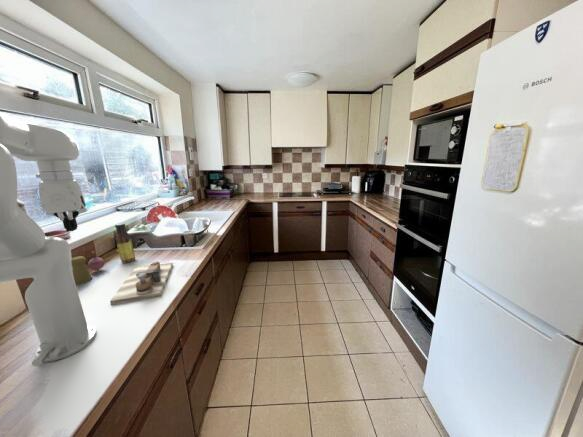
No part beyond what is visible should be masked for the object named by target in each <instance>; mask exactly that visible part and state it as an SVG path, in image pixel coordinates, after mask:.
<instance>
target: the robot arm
mask: <svg viewBox="0 0 583 437" xmlns="http://www.w3.org/2000/svg"><path fill="white" fill-rule="evenodd" d="M79 155H80V148H79V144H78V143H77V141H76V139H75V138H74V137H73V136H72V135H71V134H69V133H67V132H65V131H63V130H61V129H57V128H55V127H50V126H44V125H39V124H36V123H35V124H34V123H30V122H25V121H20V120H17V119H15V118H13V117H11V116H9V115H7V114H5V113H3V112H1V111H0V283H6V282H10V281H15V280H22V279H28V278H29V279H30V278H33V281H32V282H31V283H30V285H29V286H28V287H27V289H26V291H25V293H24V299H25V303H26V305H27V308H28V311H29V314H30V317H31V320H32V323H33V326H34V328H35V331H36V334H37V338H38V340H39V342H40V344H39V345H38V347H37V349H36V350H35V351H34V352H35V353H34V355H35V358H34V359H33V360H32V361H31V365H32V366H33V367H40V366H41V365H42V364H43V363H46V362H47V363H49V362H50V363H51V362H54V361H59V360H62V359H64V358H68V357H70V356H72V355H75V354H76V353H78V352H79V351H81V350H83V349H84V348H86V347H87V346H89V344H91V343H92V341H93V340H94V339H95V337H96V336H97V329H96V327H95V326H93V325H89V324H88V323H87V319H86V316H85V313H84V309H83V305H82V303H81V298H80V294H79V291H78V288H77V284H75V280H74V276H73V266H72V261H71V259H72V249H71V246H70V243H69V241H67V240H66V239H64V238H62V237H57V236H46V234H45V232H44V230H43V228H42V227H40V225H38V223H37V222H36V221H35V220H34V219H33V218H31V216H30V215H28V214H27V213H26V212H25V211H24V210H23V209H22V208H21V207H20V206H19V204H18V174H17V167H16V166H17V165H16V163H15V159H14V158H17V159H19V160H21V161H24V162H36V164H37V168H38V171H39V172H38V173H37V174H35V178H36V179H40V180H41V181H39V182H38V194H39V200H40V205H41V208H42V211H43V212H45V214H46V215H47V216H53V217H57V219H59V220H60V221H62V224H63V228H64V229H65V231H66V232H67V233H68V232H74V231H76V230H77V229H78V222H77V218H78V217H79V215H80V214H83V213H87V212H88V209H87V208H86V200H85V197H84V194H83V191H82V189H81V186H80V185H79V183H78V181H77V179H74V175H73V171H72V168H71V163H70V161H75V160H77V159H78V157H79Z"/></svg>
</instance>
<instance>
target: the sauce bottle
mask: <svg viewBox="0 0 583 437" xmlns="http://www.w3.org/2000/svg"><path fill="white" fill-rule="evenodd" d="M114 227H115V229H116V233H117V234H116V236H115V242H116V246H117V250H118V255H119V259H120V261H121V263H123V264H127V263H131V262H134V261H135V260H136V254H135V250H134V247H133V246H134V245H133V242H132V237H131V236H130V234H129V233H128V231H127V228H126V223H124V222H120V223H117V224H115V226H114Z"/></svg>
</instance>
